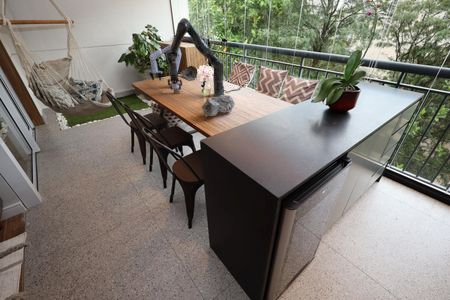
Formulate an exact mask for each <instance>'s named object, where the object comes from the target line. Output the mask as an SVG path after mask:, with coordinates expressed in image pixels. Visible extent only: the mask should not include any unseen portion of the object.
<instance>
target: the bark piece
mask: <svg viewBox="0 0 450 300" xmlns="http://www.w3.org/2000/svg"><path fill="white" fill-rule="evenodd" d="M197 70H198V69H197V67H196V66H193V65H189V66H186V67H185V68H184V69H183V70H182V71H179V72H178V74H180V76H181V77H183V78H185V79H186V80H188V81H193V80H195V79H197V78H198V72H197Z"/></svg>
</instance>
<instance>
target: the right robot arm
mask: <svg viewBox="0 0 450 300" xmlns="http://www.w3.org/2000/svg"><path fill="white" fill-rule="evenodd" d="M186 34H188V35H189V37H190V39H191V41H192V43H193V45H194V47H195V48H196V50H197V51H198V52H199V54H201V55H202V56H203V57H204V58H205V59H207V61H208V62H209V63H210V65H211V66H212V68H213V76H212V77H213V79H212V80H213V81H212V82H213V96H214V98H215V97H223V96H225V92H226V93H230V92H233V91H234V89H231V90H228V91H227V90H226V89H225V86H224V63H223V62H222V61H221V60H220V59H219V58H218V56H216V55H215V54H214V52H213V51H212V49H211V48H210V45H208V44H207V42H206V41H205V40H204V39H203V38H202V36H201V35H200V34H199V32H197V30H196V29H195V27H194V26H193V24H192V23H191V21H190V20H189V19H188V18H185V17H183V18H181V19H180V20H179V21H178V22H177V26H176V31H175V35H174V37H173V40H172V42H171V44H170V45H171V47H170V49H171V50H169V51H167V52H165V58H166V61H167V63H168V67H169V68H168V70H169V77H170V78H168V79H167V85H168V86H169V89H170V90H171V91H172V90H173V89H172V84H177V85H178V86H179V88H178V89H179V91H181V90H182V86H183V80H182V79H179V72H177V66H176V62H175V61H173V60H176V58H177V55H178V49H179V48H181V44H182V40H183V39H184V37H185V36H186ZM243 87H246V85H245V84H243V85H241V86H240V87H239V88H237V89H235V91H239V90H240V89H241V88H243Z"/></svg>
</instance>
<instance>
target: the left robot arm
mask: <svg viewBox="0 0 450 300" xmlns="http://www.w3.org/2000/svg"><path fill="white" fill-rule="evenodd" d="M170 47H171V44H168V45H167V46H165V47H164V48H162V49H156V51H154V52H152V53H151V54H149V60H150V66H151V70H148V71H147V72H148V74H149V76H150V78H151V80H152V81H154V80H155V77H154V74H157V76H158V80H159V81H162V75H163V71H162V70H159V69H158V64H157V63H158V62H157V61H156V59H158V58H160V57H163V54H166V52H168V51H171V49H170ZM181 59H182V51H181V47H179V49H178V55H177V58H175V59H174V62H176V66H177V72H178V71H179V67H180V63H181ZM178 73H179V72H178ZM174 89H179V86H178V85H177V84H172V90H174Z"/></svg>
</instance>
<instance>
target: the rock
mask: <svg viewBox="0 0 450 300" xmlns="http://www.w3.org/2000/svg"><path fill="white" fill-rule="evenodd" d="M235 106H236V104H235V100H234V99H233V98H232V96H230V95H223V96H221V97H215V96H214V97H212V98H209V97H207V99H206V100H205V102H204V103H203V104H202V106H201V107H200V108H201V110H202V112H203V115H204V116H205V118H207V117H215V116H217V115H218V113H225V114H227V113H228V114H230V113H231V112H232V111H233V109H234V107H235Z"/></svg>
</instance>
